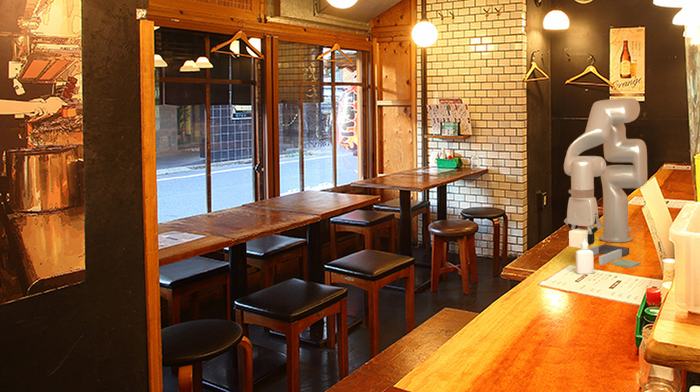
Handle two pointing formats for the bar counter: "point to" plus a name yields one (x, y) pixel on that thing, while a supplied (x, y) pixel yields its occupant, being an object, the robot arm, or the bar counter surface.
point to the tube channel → (606, 255)
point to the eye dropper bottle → (584, 259)
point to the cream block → (578, 237)
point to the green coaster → (626, 263)
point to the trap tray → (613, 249)
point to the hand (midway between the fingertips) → (583, 242)
